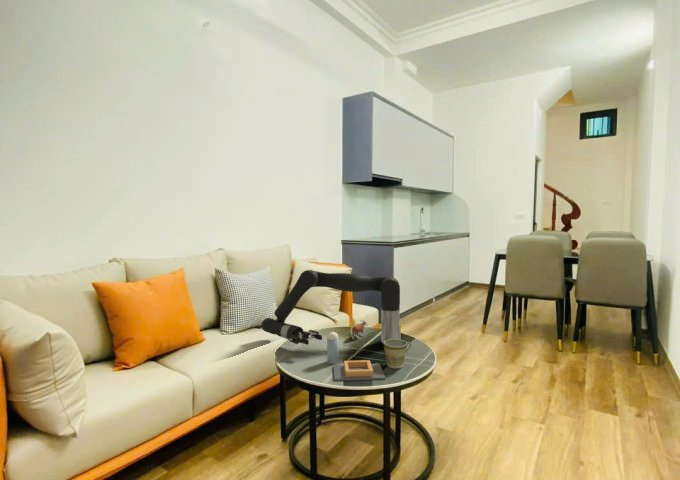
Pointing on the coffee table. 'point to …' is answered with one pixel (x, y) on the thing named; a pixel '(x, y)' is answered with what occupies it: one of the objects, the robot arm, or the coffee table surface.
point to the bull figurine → (358, 329)
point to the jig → (358, 371)
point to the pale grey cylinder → (332, 348)
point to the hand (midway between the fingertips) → (314, 340)
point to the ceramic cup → (395, 352)
